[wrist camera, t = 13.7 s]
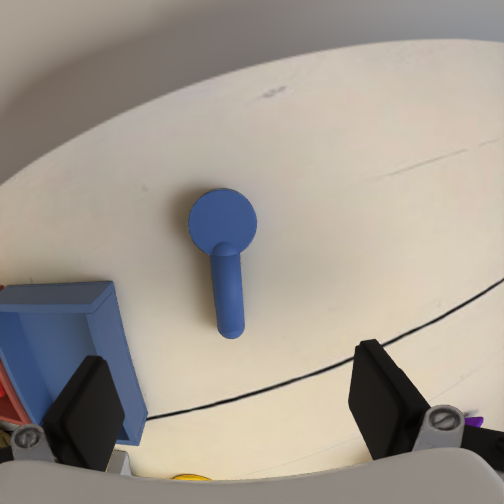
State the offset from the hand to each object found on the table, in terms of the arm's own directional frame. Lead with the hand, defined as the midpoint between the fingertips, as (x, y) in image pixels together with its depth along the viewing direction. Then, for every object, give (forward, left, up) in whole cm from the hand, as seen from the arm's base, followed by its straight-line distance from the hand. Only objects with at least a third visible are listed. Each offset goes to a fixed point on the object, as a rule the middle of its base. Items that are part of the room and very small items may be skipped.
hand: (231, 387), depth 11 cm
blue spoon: (-2, 0, -10) cm, 11 cm away
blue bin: (+5, -13, -11) cm, 18 cm away
